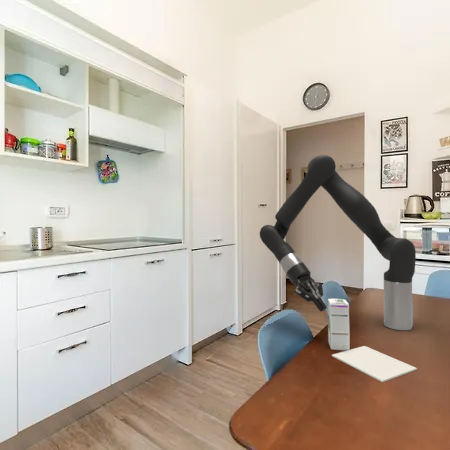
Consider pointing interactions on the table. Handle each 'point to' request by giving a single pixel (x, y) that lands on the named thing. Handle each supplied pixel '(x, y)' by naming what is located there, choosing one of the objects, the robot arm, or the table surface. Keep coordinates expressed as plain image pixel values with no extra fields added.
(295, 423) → the table surface
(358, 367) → the off-white mat
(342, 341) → the syrup box
